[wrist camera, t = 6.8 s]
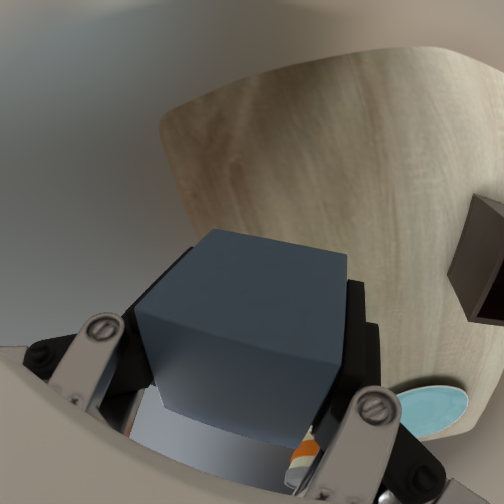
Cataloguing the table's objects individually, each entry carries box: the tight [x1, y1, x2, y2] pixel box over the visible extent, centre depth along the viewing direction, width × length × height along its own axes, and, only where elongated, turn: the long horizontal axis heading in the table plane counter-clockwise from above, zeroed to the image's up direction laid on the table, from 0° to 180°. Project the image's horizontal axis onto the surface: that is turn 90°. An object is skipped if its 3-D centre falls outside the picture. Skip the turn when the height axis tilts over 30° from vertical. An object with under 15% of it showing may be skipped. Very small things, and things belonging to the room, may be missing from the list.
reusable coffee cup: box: [284, 432, 319, 489], centre depth 49 cm, size 12×13×15 cm
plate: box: [396, 385, 469, 438], centre depth 43 cm, size 22×22×3 cm
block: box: [134, 229, 347, 449], centre depth 8 cm, size 4×4×4 cm
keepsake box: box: [447, 194, 504, 326], centre depth 24 cm, size 12×9×10 cm
